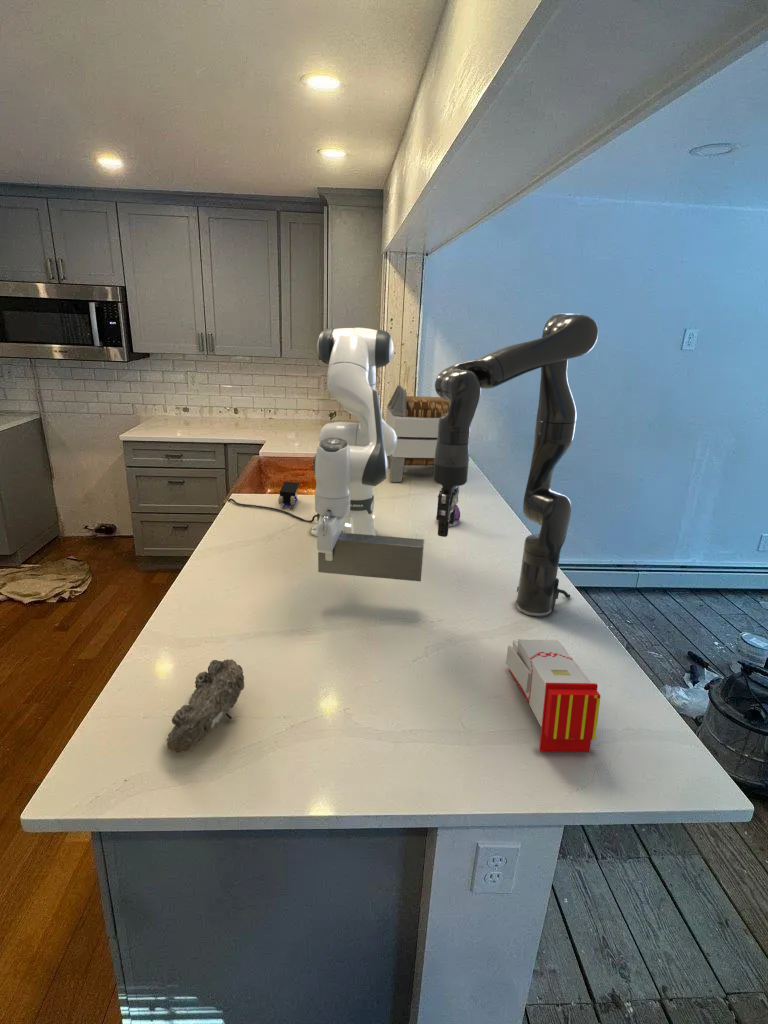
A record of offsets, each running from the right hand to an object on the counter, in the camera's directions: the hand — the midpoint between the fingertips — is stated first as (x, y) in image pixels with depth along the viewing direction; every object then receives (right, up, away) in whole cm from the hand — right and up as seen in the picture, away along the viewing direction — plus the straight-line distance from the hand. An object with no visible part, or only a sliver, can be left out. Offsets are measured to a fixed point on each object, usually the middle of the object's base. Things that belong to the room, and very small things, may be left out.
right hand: (446, 529), depth 131 cm
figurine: (+10, 0, +81) cm, 82 cm away
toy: (+18, -35, -15) cm, 42 cm away
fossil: (-47, -35, -23) cm, 63 cm away
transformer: (+3, +23, +144) cm, 146 cm away
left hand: (-28, -7, +16) cm, 33 cm away
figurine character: (-52, +7, +93) cm, 107 cm away
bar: (-18, -12, +16) cm, 27 cm away
